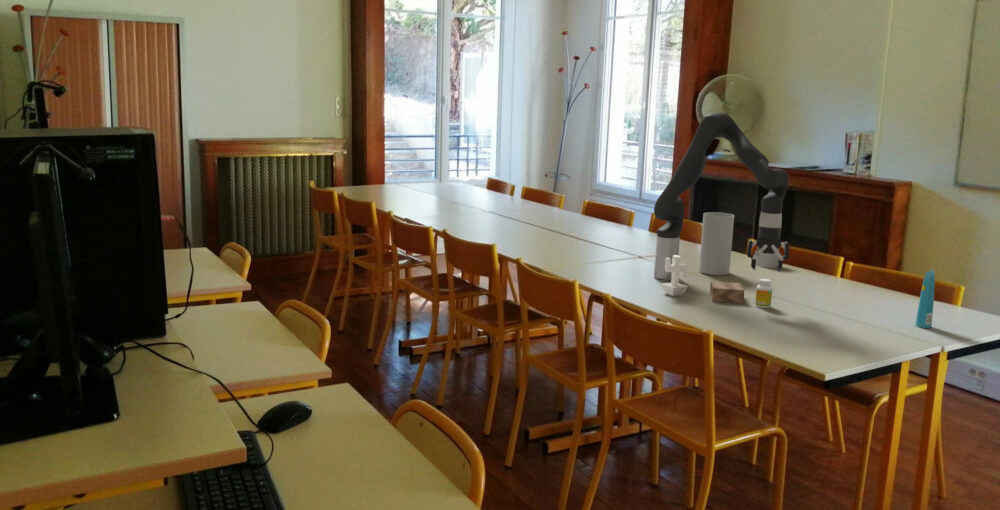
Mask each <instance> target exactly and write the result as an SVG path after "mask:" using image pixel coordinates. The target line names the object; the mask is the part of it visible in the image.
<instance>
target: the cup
mask: <svg viewBox="0 0 1000 510" xmlns="http://www.w3.org/2000/svg"><path fill="white" fill-rule="evenodd" d="M757 249H758V246H757V248H756V250H757ZM778 251H779V252H780V247H779V248H778ZM778 260H779V258H778V257H777V255H776V254H775V253H773V254H769V253H766V254H764V253H761V254H760V255H759V256H758V257H757V258H756V266H757V267H761V268H769V269H771V268H777V265H778Z"/></svg>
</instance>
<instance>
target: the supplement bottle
mask: <svg viewBox="0 0 1000 510" xmlns="http://www.w3.org/2000/svg"><path fill="white" fill-rule="evenodd" d="M771 284H772V281H771V279H768V278H759V280H758V285H756V289H755V290H756V291H755V303H754V305H755V307H757V308H761V309H768V308H771V306H772V295H773V287H772V286H771Z"/></svg>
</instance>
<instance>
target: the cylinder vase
mask: <svg viewBox="0 0 1000 510" xmlns="http://www.w3.org/2000/svg"><path fill="white" fill-rule="evenodd" d="M702 217H703V218H702V228H701V229H702V230H701V243H700V256H699V265H698V267H699V268H698V269H699V272H700V273H701V274H704V275H709V276H718V277H719V276H726V275H729V274H730V270H731V259H732V248H733V234H734V225H735V224H734V222H735V215H734V214H733V213H727V212H718V211H717V212H716V211H715V212H714V211H711V212H704V213H703V216H702Z"/></svg>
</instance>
